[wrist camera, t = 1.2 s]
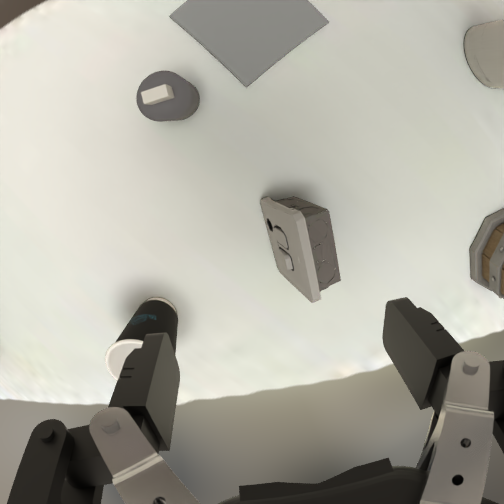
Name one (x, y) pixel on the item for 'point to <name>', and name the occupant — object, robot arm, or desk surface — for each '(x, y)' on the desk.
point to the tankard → (489, 254)
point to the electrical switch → (302, 244)
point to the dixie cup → (142, 331)
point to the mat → (249, 31)
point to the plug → (167, 97)
